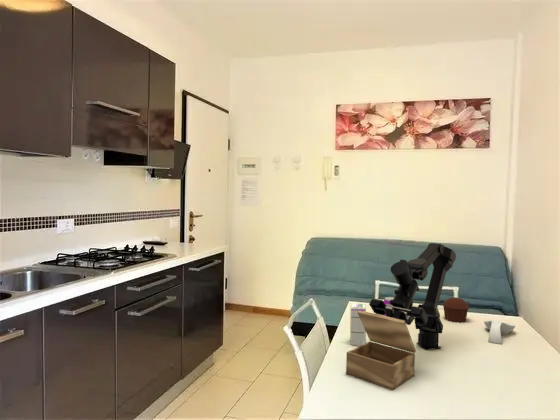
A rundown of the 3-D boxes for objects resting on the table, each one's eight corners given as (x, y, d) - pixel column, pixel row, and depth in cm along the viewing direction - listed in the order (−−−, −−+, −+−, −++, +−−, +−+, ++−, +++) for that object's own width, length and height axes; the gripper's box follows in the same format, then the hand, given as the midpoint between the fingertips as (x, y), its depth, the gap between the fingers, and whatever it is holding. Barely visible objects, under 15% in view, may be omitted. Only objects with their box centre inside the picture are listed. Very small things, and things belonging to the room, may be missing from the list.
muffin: (449, 315, 206) (450, 294, 206) (472, 320, 198) (473, 298, 198) (437, 319, 198) (438, 298, 198) (461, 325, 190) (462, 302, 190)
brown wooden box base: (369, 361, 146) (369, 341, 146) (414, 375, 135) (414, 353, 135) (346, 374, 135) (346, 352, 135) (392, 390, 125) (393, 366, 124)
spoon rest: (485, 326, 190) (485, 310, 189) (515, 330, 184) (516, 314, 183) (478, 341, 169) (479, 323, 169) (512, 347, 163) (513, 328, 163)
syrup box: (365, 346, 161) (366, 307, 160) (349, 345, 162) (350, 306, 161) (365, 341, 166) (366, 304, 166) (350, 340, 168) (351, 303, 167)
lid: (369, 340, 146) (371, 338, 146) (414, 353, 135) (416, 350, 135) (357, 312, 139) (358, 309, 140) (403, 323, 128) (404, 320, 129)
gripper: (438, 312, 144) (423, 353, 136) (388, 302, 157) (371, 339, 149) (429, 292, 138) (413, 334, 130) (377, 283, 151) (359, 321, 143)
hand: (388, 332), depth 138 cm, fingers closed, pressing on lid
